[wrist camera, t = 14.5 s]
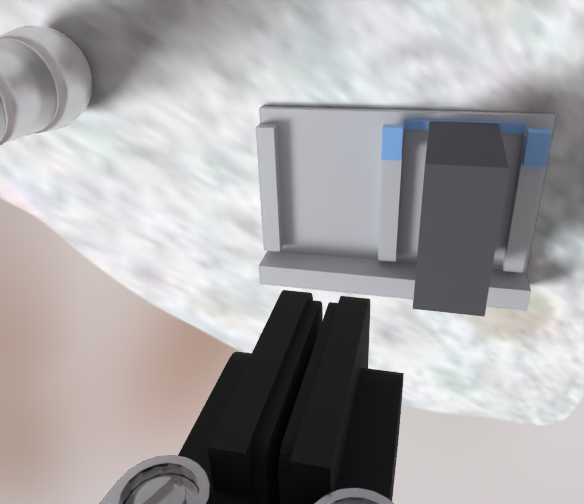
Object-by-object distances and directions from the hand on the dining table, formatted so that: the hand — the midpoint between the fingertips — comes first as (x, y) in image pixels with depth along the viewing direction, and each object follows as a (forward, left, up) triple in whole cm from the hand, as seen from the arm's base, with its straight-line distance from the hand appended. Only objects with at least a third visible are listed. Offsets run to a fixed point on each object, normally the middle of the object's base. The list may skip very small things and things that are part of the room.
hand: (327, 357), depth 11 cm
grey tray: (+8, 0, -27) cm, 28 cm away
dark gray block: (+7, +3, -26) cm, 27 cm away
